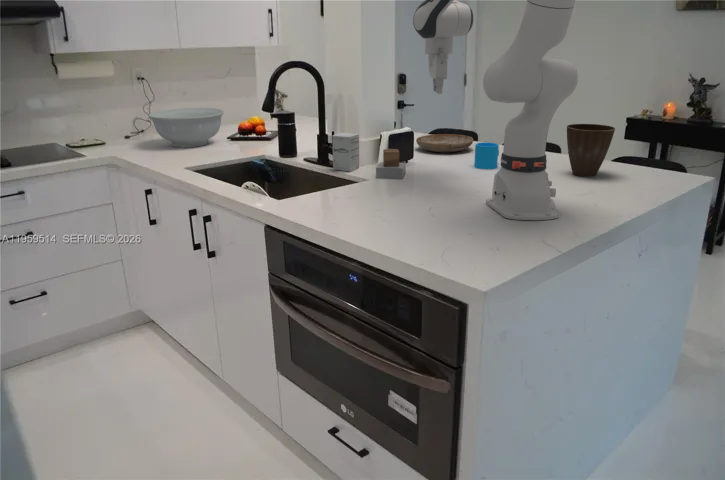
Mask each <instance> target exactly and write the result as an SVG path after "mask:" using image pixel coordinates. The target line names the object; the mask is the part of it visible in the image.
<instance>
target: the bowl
mask: <svg viewBox="0 0 725 480" xmlns="http://www.w3.org/2000/svg"><path fill="white" fill-rule="evenodd" d="M224 113H225V112H224V110H223V109H221V108H215V107H214V108H213V107H212V108H211V107H190V108H189V107H187V108H176V109H167V110H161V111H155V112H152V113H150V114H148V118H149V119H150V120H151V121H152V123H153V125H154V129H155V131H156V133H157V134H158V135H159V136H160V137H161V138H162V139H164V140H166V141H169V142H171V143H172V146H173V147H176V148H184V149H185V148H195V147H196V148H197V147H202V146H205V145H207V144H208V143H209V141H208V140H209V139H212V138H213V137H215V136H216V135H217V134H218V133H219V130H220V127H221V124H222V123H221V121H222V117H223V115H224Z"/></svg>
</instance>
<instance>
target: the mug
mask: <svg viewBox="0 0 725 480" xmlns="http://www.w3.org/2000/svg"><path fill="white" fill-rule="evenodd" d="M474 146H475V147H474V161H473V162H474V163H473V164H474V168H476V169H479V170H493V169H497V168H498V160H499V155H500V150H499V148H500V147H499V144H498V143H495V142H485V141H484V142H477V143H475V145H474Z"/></svg>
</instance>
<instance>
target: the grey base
mask: <svg viewBox="0 0 725 480" xmlns="http://www.w3.org/2000/svg"><path fill="white" fill-rule="evenodd" d="M406 166H407V165H406V162H399V166H395V167H384V164H383V161H380V162H379V163H378V165H377V166H376V167H375V179H386V180H388V179H390V180H403V178H404V177H405V175H406V173H407V170H406V169H407V167H406Z"/></svg>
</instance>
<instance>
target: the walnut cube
mask: <svg viewBox="0 0 725 480" xmlns="http://www.w3.org/2000/svg"><path fill="white" fill-rule="evenodd" d="M382 150H383V154H382V155H383V157H382V158H383V159H382V160H383V161H382V162H383V164H384V167H395V166H399V163H400V150H399V149H398V148H387V149H386V148H384V149H382Z"/></svg>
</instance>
